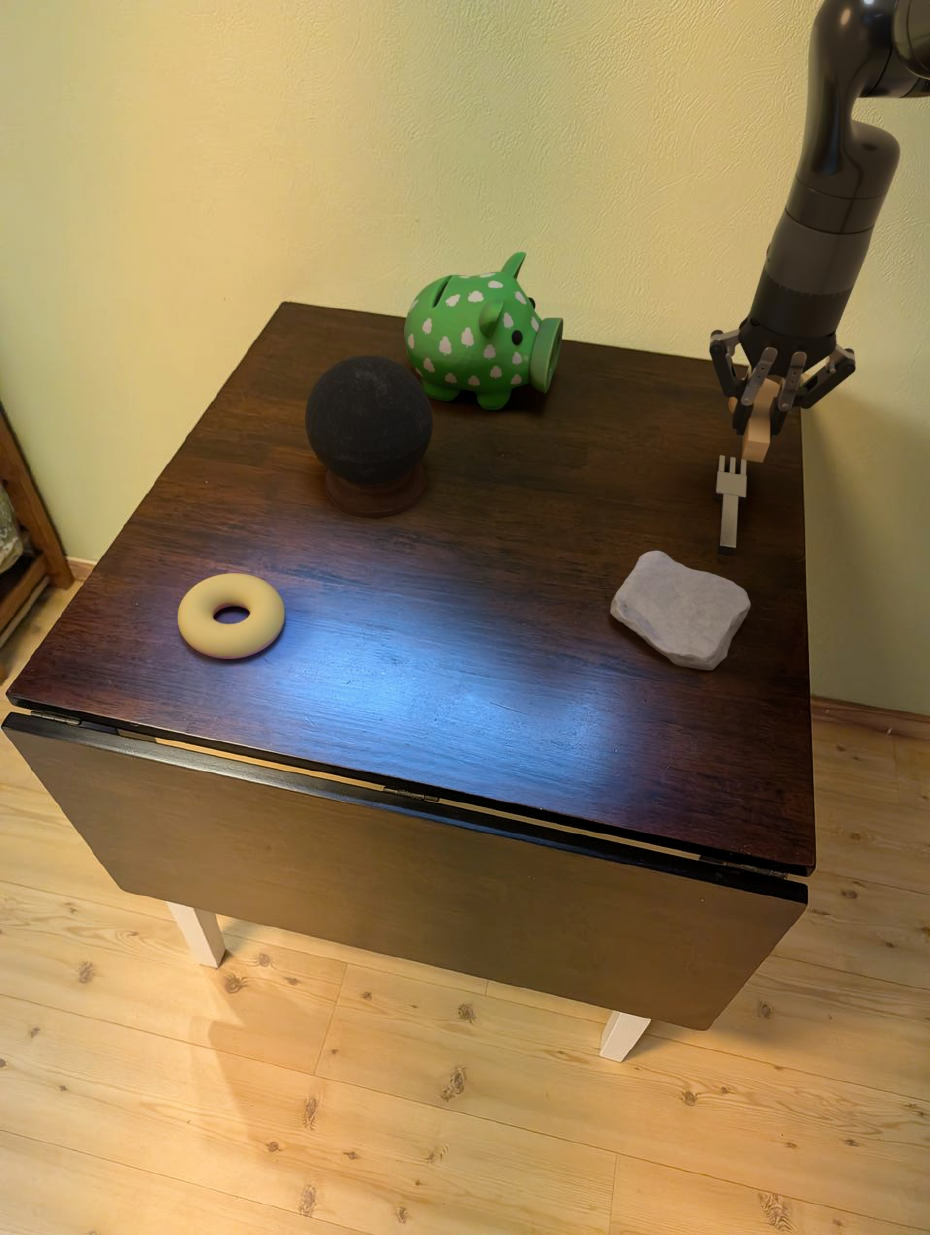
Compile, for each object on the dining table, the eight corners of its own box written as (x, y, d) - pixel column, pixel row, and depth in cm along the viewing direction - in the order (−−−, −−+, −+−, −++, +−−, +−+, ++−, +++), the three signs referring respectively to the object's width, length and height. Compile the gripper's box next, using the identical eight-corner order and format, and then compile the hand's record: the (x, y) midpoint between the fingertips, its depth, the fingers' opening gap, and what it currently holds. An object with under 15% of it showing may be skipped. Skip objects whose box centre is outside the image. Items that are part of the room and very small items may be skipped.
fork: (740, 557, 87) (743, 549, 86) (709, 551, 88) (712, 543, 87) (744, 467, 96) (747, 459, 95) (716, 462, 97) (718, 454, 96)
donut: (253, 687, 79) (305, 610, 83) (246, 667, 75) (301, 587, 79) (162, 641, 80) (218, 567, 85) (151, 619, 76) (210, 543, 80)
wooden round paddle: (779, 465, 81) (787, 446, 79) (724, 457, 81) (731, 437, 80) (779, 396, 88) (787, 377, 86) (729, 389, 88) (735, 369, 86)
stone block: (709, 692, 79) (752, 610, 82) (715, 669, 75) (760, 584, 78) (595, 639, 83) (641, 564, 87) (595, 615, 79) (643, 537, 83)
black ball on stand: (430, 526, 90) (426, 411, 78) (307, 522, 90) (285, 406, 78) (438, 446, 98) (435, 331, 86) (325, 442, 98) (307, 327, 87)
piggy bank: (538, 435, 99) (549, 321, 88) (392, 409, 102) (384, 294, 91) (561, 367, 108) (574, 254, 96) (425, 344, 111) (422, 232, 99)
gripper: (725, 278, 69) (680, 445, 82) (901, 302, 67) (825, 468, 81) (729, 235, 74) (686, 399, 87) (893, 255, 72) (823, 420, 85)
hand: (753, 432), depth 84 cm, fingers closed on wooden round paddle, 2 cm apart
